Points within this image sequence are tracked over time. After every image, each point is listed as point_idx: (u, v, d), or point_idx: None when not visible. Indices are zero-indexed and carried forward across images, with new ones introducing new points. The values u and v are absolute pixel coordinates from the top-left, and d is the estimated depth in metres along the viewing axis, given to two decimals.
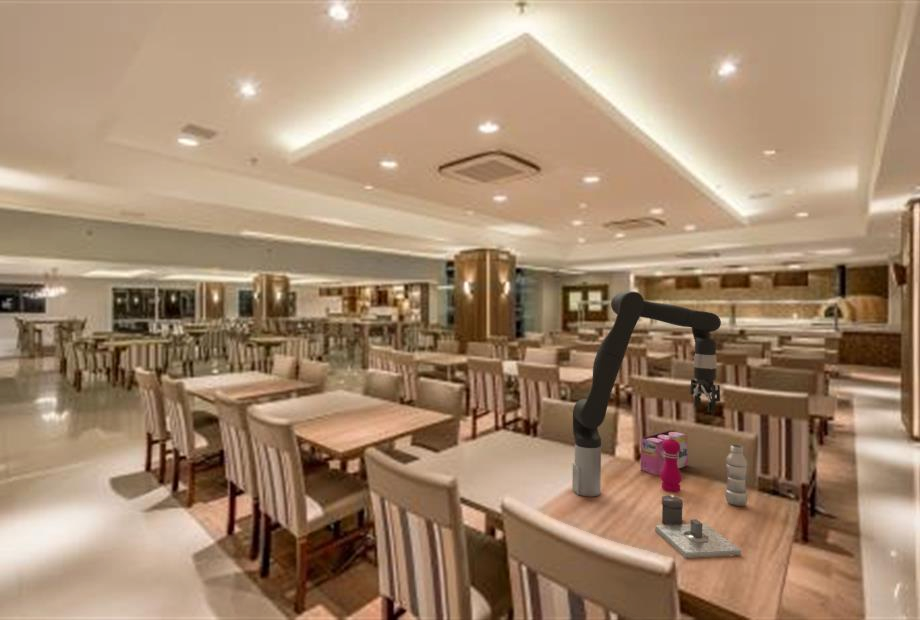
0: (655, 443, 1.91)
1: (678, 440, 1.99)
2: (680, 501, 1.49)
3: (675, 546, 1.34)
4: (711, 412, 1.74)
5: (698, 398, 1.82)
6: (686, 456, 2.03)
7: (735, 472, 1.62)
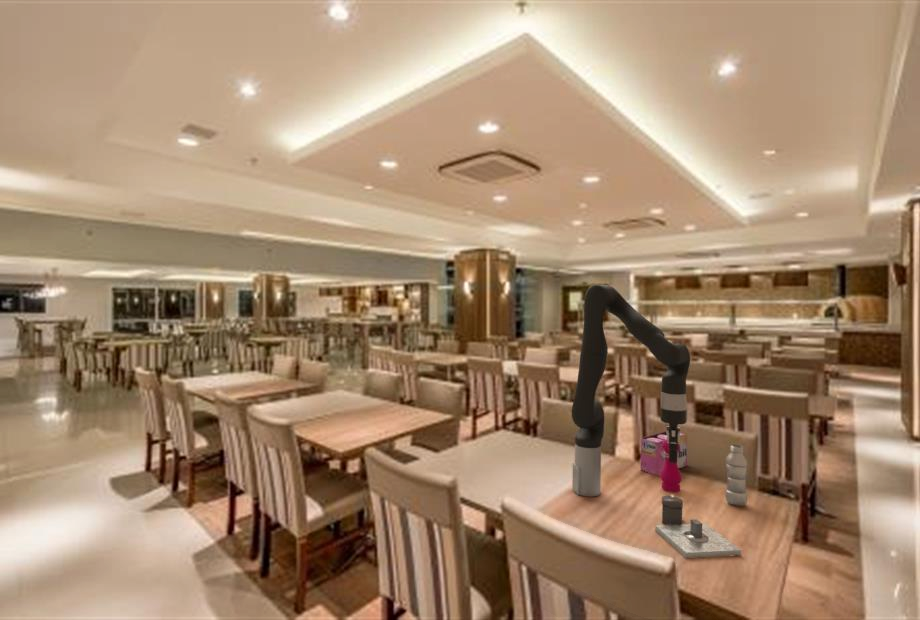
0: (655, 443, 1.91)
1: None
2: (680, 501, 1.49)
3: (675, 546, 1.34)
4: None
5: None
6: (686, 456, 2.03)
7: (735, 472, 1.62)
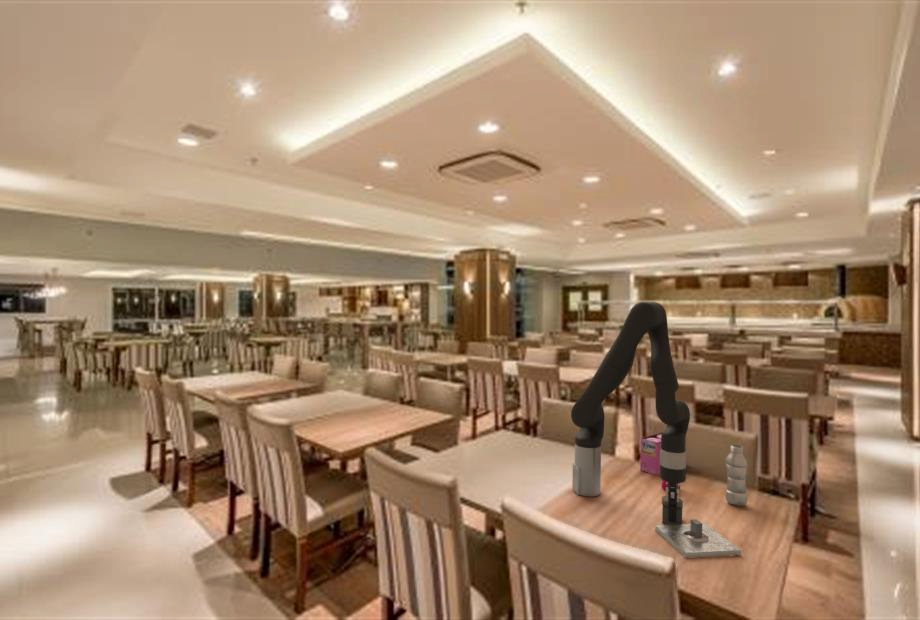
0: (655, 443, 1.91)
1: None
2: (680, 501, 1.49)
3: (675, 546, 1.34)
4: None
5: None
6: None
7: (735, 472, 1.62)
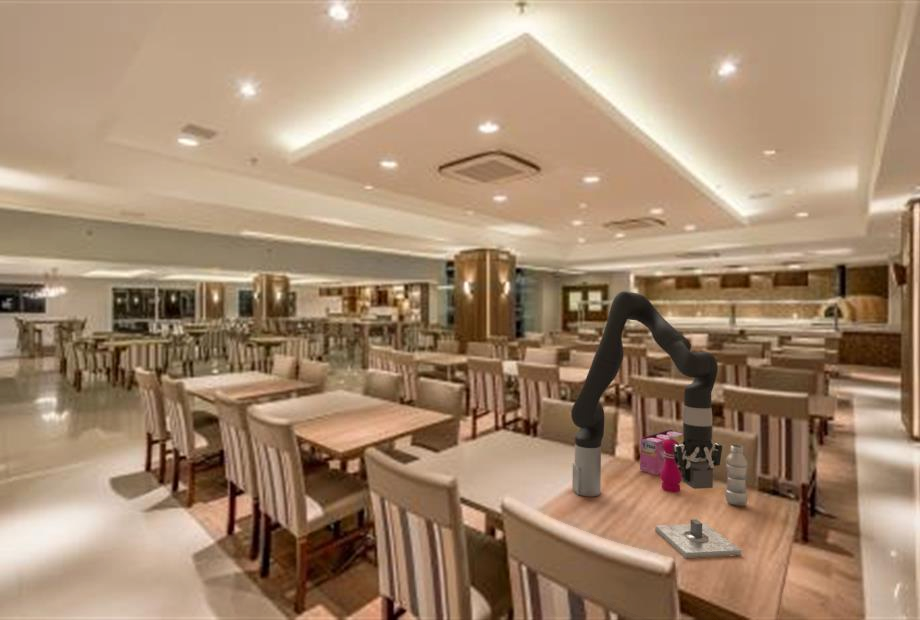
0: (655, 443, 1.91)
1: (677, 440, 2.00)
2: (700, 463, 1.35)
3: (675, 546, 1.34)
4: None
5: None
6: None
7: (735, 472, 1.62)
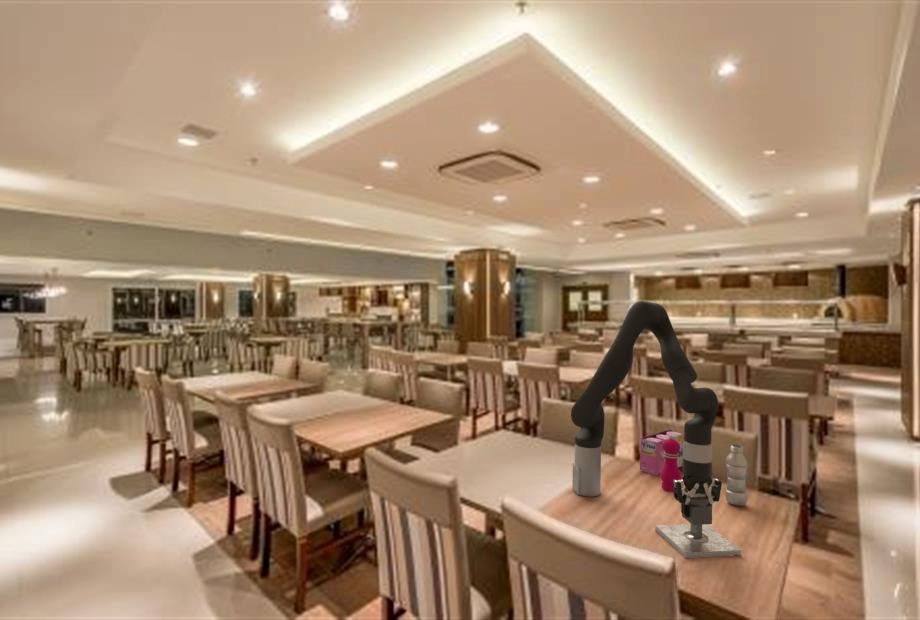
0: (655, 443, 1.91)
1: (676, 440, 2.00)
2: (700, 499, 1.35)
3: (675, 546, 1.34)
4: None
5: None
6: None
7: (735, 472, 1.62)
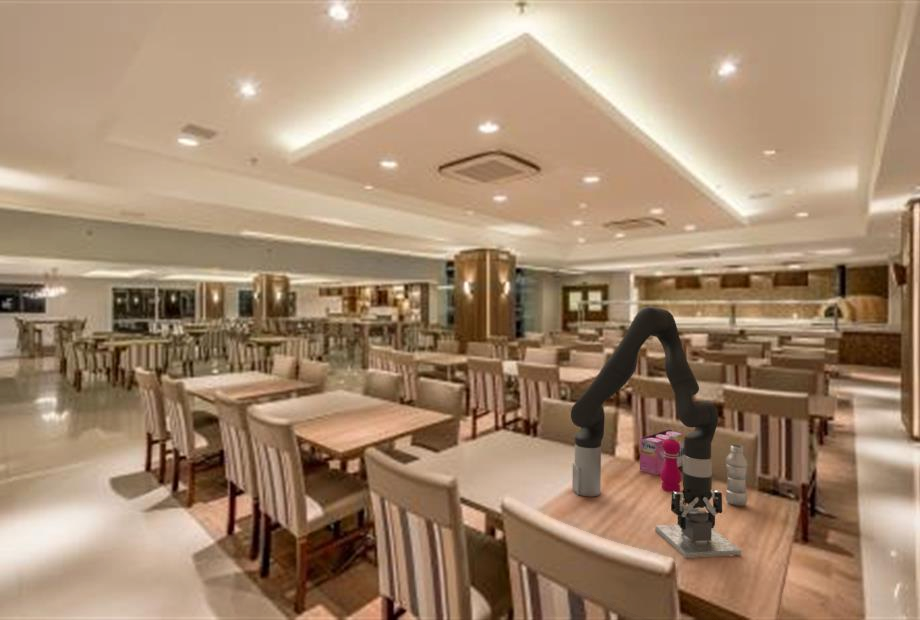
0: (655, 443, 1.91)
1: (676, 440, 2.00)
2: (699, 516, 1.35)
3: (675, 546, 1.34)
4: None
5: None
6: None
7: (735, 472, 1.62)
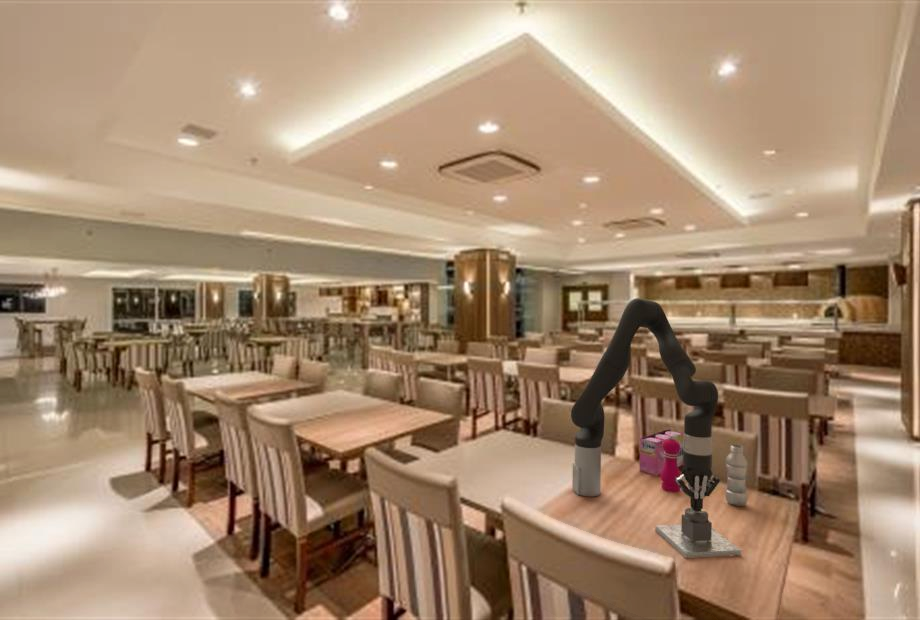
0: (654, 443, 1.91)
1: (675, 439, 2.00)
2: (699, 516, 1.35)
3: (675, 546, 1.34)
4: (699, 510, 1.37)
5: None
6: None
7: (735, 472, 1.62)
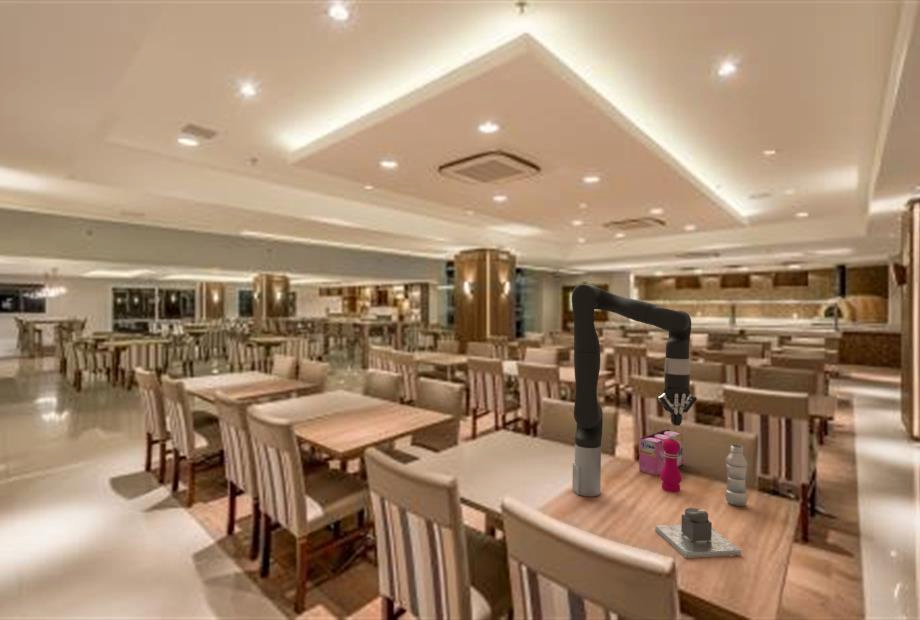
0: (654, 443, 1.91)
1: (675, 439, 2.00)
2: (699, 516, 1.35)
3: (675, 546, 1.34)
4: None
5: None
6: (682, 455, 2.04)
7: (735, 472, 1.62)
